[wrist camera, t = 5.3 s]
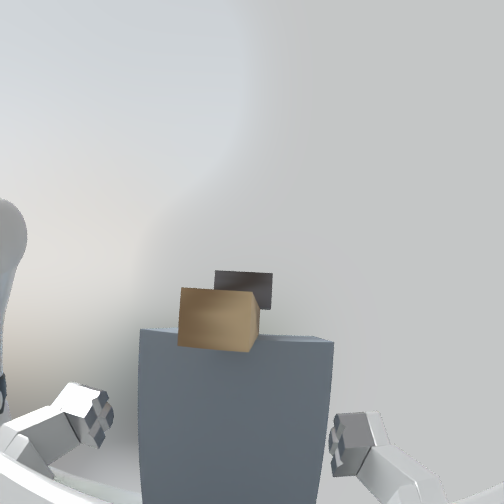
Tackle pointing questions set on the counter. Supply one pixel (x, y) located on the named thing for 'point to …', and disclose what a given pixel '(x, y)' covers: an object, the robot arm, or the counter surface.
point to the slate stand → (232, 420)
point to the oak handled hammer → (224, 311)
